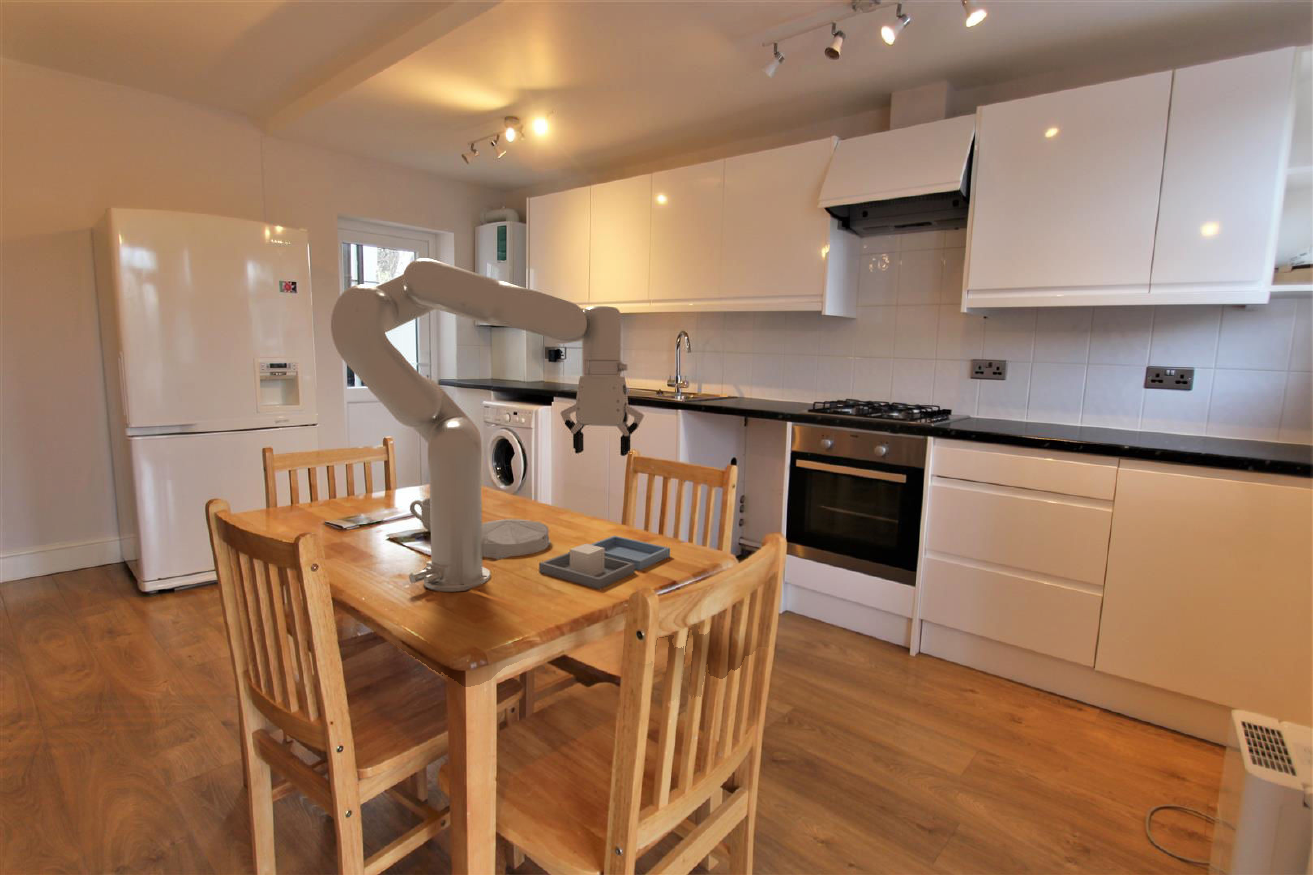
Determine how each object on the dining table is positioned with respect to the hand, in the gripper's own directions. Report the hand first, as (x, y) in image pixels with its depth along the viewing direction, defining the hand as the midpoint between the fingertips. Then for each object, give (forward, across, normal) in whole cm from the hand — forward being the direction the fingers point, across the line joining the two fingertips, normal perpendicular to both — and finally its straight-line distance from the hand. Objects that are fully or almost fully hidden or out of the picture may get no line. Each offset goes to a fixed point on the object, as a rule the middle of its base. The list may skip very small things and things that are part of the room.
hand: (601, 453), depth 129 cm
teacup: (+25, +48, -16) cm, 56 cm away
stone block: (+24, +2, +3) cm, 25 cm away
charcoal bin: (+25, +2, +3) cm, 25 cm away
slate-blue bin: (+25, -3, -9) cm, 27 cm away
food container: (+25, +26, -10) cm, 37 cm away
